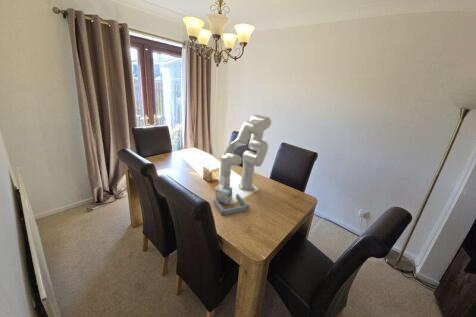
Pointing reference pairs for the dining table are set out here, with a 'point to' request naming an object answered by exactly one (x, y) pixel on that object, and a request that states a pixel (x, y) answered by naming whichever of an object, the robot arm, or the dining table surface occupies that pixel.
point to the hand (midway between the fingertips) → (223, 194)
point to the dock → (232, 210)
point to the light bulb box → (223, 194)
